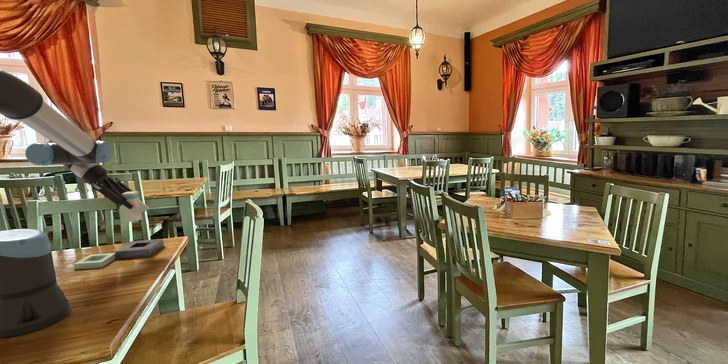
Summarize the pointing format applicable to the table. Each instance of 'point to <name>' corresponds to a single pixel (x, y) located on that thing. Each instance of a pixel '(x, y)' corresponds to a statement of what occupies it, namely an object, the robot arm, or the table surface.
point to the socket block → (139, 249)
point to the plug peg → (135, 199)
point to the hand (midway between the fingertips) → (143, 211)
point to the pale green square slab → (95, 261)
